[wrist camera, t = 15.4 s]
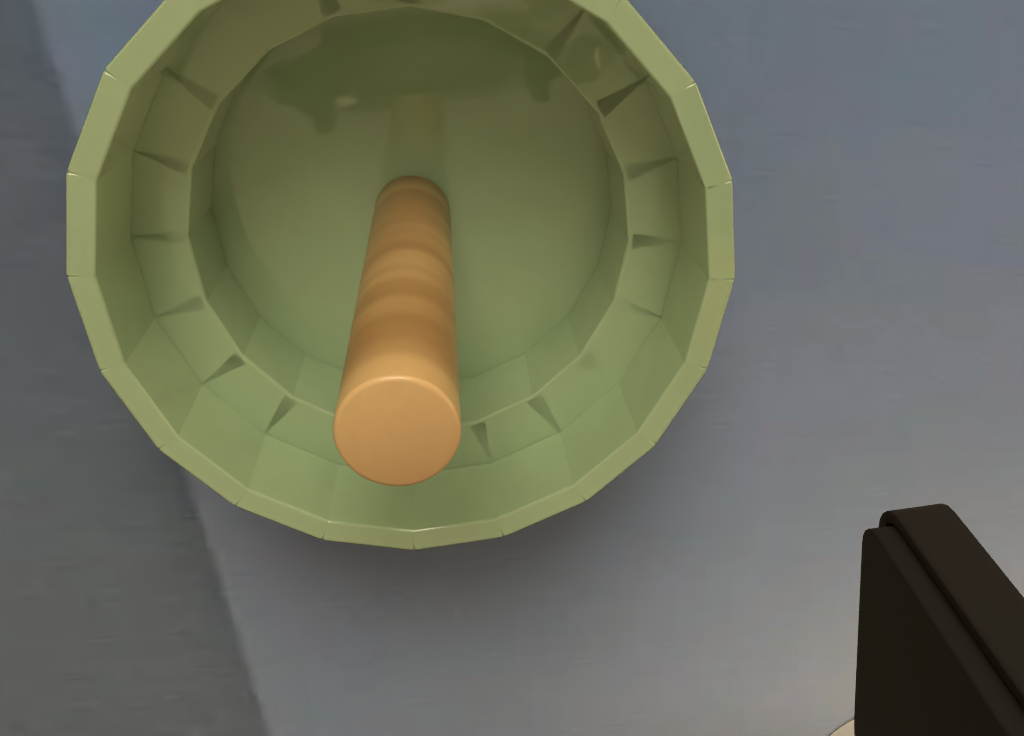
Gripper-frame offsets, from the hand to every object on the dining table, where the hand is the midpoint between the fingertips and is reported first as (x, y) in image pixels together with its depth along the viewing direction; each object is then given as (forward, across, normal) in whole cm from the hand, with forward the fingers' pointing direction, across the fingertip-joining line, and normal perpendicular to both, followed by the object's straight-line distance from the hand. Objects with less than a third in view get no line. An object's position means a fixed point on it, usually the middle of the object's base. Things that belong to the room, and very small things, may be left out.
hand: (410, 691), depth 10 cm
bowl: (+18, +1, 0) cm, 19 cm away
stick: (+18, +1, 0) cm, 18 cm away
